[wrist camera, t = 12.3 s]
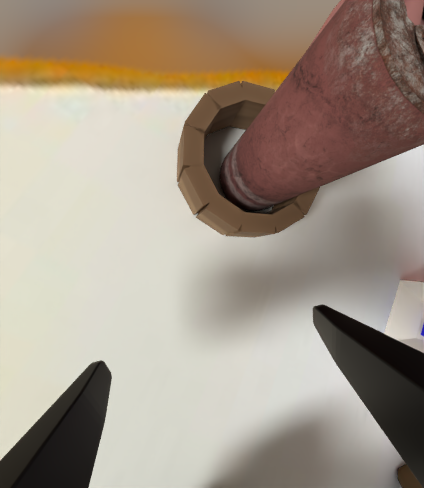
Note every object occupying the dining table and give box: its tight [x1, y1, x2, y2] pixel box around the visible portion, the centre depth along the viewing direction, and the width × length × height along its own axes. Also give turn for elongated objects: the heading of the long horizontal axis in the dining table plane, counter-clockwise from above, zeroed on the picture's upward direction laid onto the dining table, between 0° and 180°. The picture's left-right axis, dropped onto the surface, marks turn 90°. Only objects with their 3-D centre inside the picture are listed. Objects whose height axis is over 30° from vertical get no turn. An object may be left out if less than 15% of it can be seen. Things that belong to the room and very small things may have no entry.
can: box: [220, 0, 424, 212], centre depth 13 cm, size 6×6×14 cm
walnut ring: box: [177, 81, 320, 237], centre depth 18 cm, size 12×12×4 cm
